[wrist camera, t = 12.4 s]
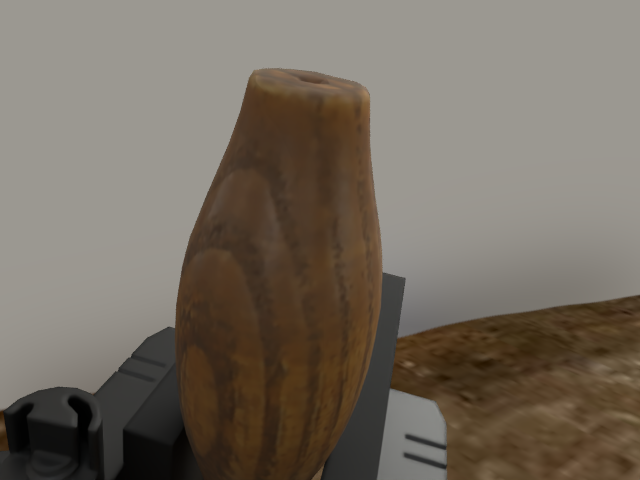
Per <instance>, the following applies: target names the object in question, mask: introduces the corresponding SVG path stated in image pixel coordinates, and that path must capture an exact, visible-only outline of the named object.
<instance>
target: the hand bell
mask: <svg viewBox="0 0 640 480" xmlns="http://www.w3.org/2000/svg"><path fill="white" fill-rule="evenodd" d="M372 173H373V172H372V163H371V152H370V94H369V92H368V90H367V88H366V87H364V86H362V85H361V84H359V83H357V82H354V81H350V80H346V79H341V78H337V77H333V76H329V75H325V74H321V73H318V72H312V71H302V70H294V69H279V68H274V69H273V68H272V69H259V70H254V71H253V73H252V74H251V76H250V77H249V81H248V84H247V88H246V92H245V96H244V99H243V103H242V107H241V111H240V114H239V117H238V119H237V122H236V125H235V128H234V131H233V134H232V136H231V139H230V142H229V145H228V147H227V149H226V152H225V154H224V156H223V159H222V161H221V163H220V166H219V168H218V170H217V173H216V175H215V177H214V180H213V182H212V184H211V187H210V189H209V191H208V193H207V196H206V198H205V201H204V203H203V206H202V208H201V211H200V213H199V216H198V218H197V221H196V223H195V226H194V229H193V231H192V233H191V236H190V239H189V243H188V246H187V250H186V254H185V258H184V262H183V266H182V272H181V278H180V284H179V290H178V297H177V304H176V325H175V357H176V376H177V384H178V393H179V402H180V409H181V413H182V417H183V422H184V426H185V430H186V434H187V437H188V440H189V442H190V445H191V448H192V451H193V453H194V456H195V458H196V461H197V463H198V466H199V468H200V471H201V473H202V475H203V478H204V480H311V479H312V478H313V477H314V475H315V474H316V473H317V472H318V471H319V470H320V468H321V467H322V466H323V465H324V463H325V462H326V460H327V458H328V457H329V455H330V454H331V452H332V451H333V449H334V448H335V446H336V444H337V442H338V440H339V439H340V437H341V435H342V433H343V431H344V429H345V428H346V425H347V423H348V421H349V419H350V417H351V415H352V412H353V410H354V408H355V405H356V403H357V400H358V398H359V395H360V392H361V389H362V386H363V383H364V380H365V377H366V374H367V371H368V368H369V363H370V359H371V355H372V350H373V346H374V342H375V336H376V331H377V325H378V320H379V314H380V308H381V293H382V248H381V234H380V227H379V219H378V213H377V206H376V199H375V191H374V181H373V174H372Z"/></svg>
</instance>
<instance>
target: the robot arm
mask: <svg viewBox="0 0 640 480" xmlns="http://www.w3.org/2000/svg"><path fill="white" fill-rule="evenodd" d="M404 286H405V278H402V277H398V276H395V275H391V274H387V273H383V272H382V293H381V308H380V314H379V320H378V325H377V331H376V336H375V342H374V346H373V350H372V355H371V359H370V363H369V368H368V371H367V374H366V377H365V380H364V383H363V386H362V389H361V392H360V395H359V398H358V400H357V403H356V405H355V408H354V410H353V412H352V415H351V417H350V419H349V421H348V423H347V425H346V428H345V429H344V431H343V433H342V435H341V437H340V439H339V440H338V442H337V444H336V446H335V448H334V449H333V451H332V452H331V454H330V455H329V457H328V458H327V460H326V462H325V465H324V468H323V472H322V476H321V480H447V470H446V466H447V451H446V447H447V440H446V422H445V420H444V418H443V416H442V414H441V412H440V409H439V407H438V405H437V403H436V401H432V400H429V399H426V398H422V397H419V396H415V395H412V394H408V393H405V392H401V391H398V390H394V389H391V388H390V385H391V378H392V370H393V363H394V356H395V349H396V342H397V335H398V328H399V321H400V314H401V307H402V300H403V293H404ZM3 413H4V419H5V426H6V432H7V438H8V445H9V451H0V480H204V478H203V475H202V473H201V471H200V468H199V466H198V463H197V461H196V458H195V456H194V453H193V451H192V448H191V445H190V442H189V440H188V437H187V434H186V430H185V426H184V422H183V417H182V413H181V409H180V402H179V393H178V384H177V376H176V357H175V328H172V327H167V328H165V329H163V330H162V331H160V332H158V333H156V334H154V335H152V336H150V337H148V338H147V339H146V340H145V341H144V342H143V343H142V344H141V345H140V346H139V347H138V348H137V349H136V350H135V351H134V352H133V354H132V356H131V358H128V359H127V360H126V361H125V362H124V363H123V364H122V365H121V366H120V367H119V370H118V372H115V373H114V374H113V375H112V376H111V377H110V378H109V379H108V380H107V381H106V382H105V383H104V384H103V385H102V386H101V388H100V389H99V390H98V391H97V392H96V393H95V394H94V395H92V394H90V393H88V392H86V391H83V390H80V389H78V388H69V387H55V388H49V389H45V390H39V391H36V392H34V393H32V394H29V395H27V396H25V397H23V398H20V399H19V400H17V401H16V402H15V403H13V404H12V405H11V406H9V407H8V408H7V409H5V410H4V411H3Z"/></svg>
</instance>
